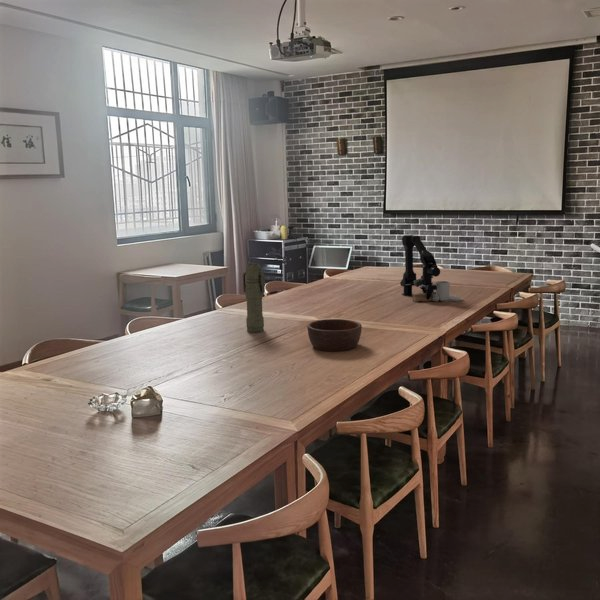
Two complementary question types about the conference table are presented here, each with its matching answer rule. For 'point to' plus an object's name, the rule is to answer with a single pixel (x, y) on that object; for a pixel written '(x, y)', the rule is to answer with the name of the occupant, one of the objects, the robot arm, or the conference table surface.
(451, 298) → the mat
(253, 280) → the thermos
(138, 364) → the conference table surface
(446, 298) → the mug
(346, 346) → the wooden bowl
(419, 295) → the panel
